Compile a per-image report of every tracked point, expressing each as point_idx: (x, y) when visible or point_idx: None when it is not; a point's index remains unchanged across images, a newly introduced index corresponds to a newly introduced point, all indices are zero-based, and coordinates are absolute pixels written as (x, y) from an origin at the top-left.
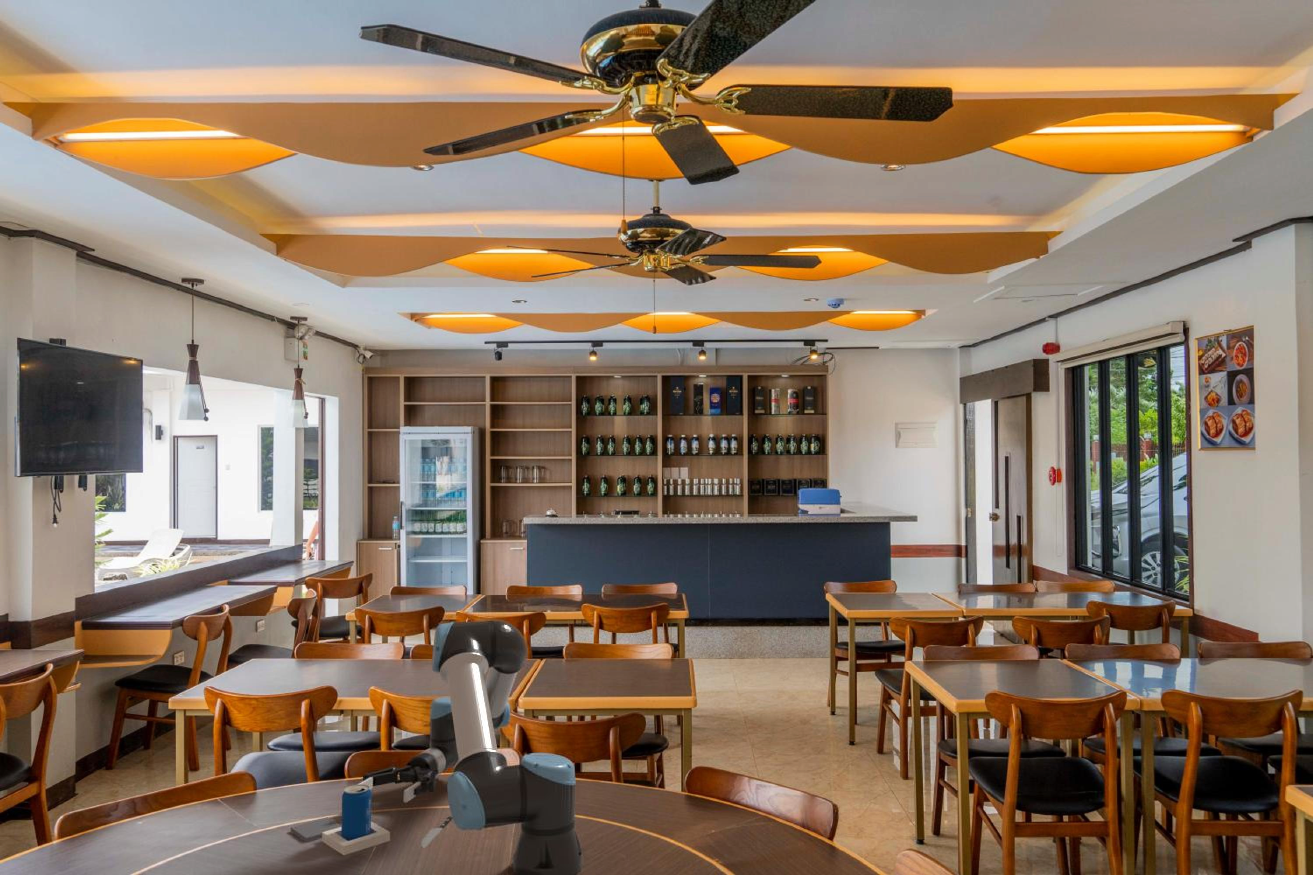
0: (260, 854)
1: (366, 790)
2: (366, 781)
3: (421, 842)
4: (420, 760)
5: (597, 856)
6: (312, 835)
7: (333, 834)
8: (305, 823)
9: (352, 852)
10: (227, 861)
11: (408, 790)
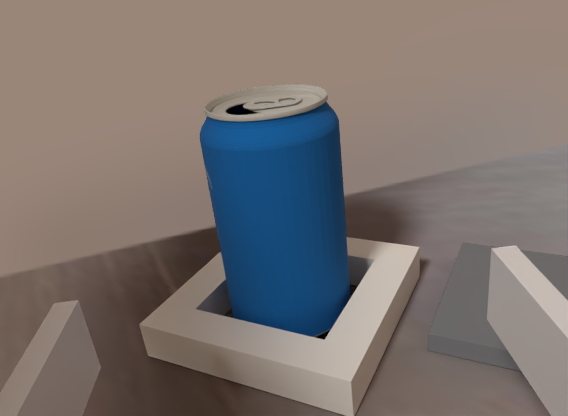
0: (496, 193)
1: (205, 107)
2: (555, 328)
3: None
4: None
5: None
6: (465, 258)
7: (359, 250)
8: None
9: None
10: (525, 163)
11: (46, 325)
